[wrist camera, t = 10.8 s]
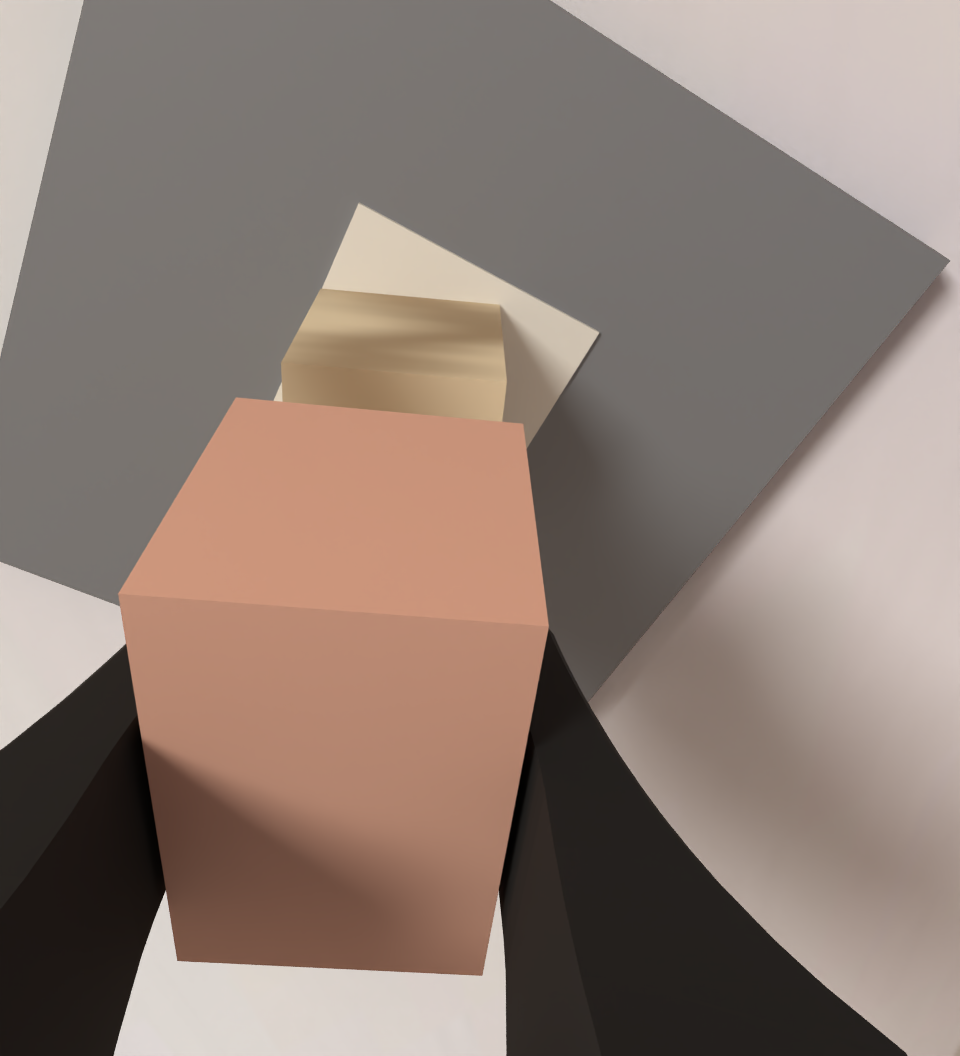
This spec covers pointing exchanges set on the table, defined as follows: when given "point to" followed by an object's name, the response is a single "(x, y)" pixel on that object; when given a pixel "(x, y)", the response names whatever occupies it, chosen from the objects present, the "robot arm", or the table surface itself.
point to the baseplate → (429, 275)
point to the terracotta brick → (339, 685)
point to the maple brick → (398, 356)
